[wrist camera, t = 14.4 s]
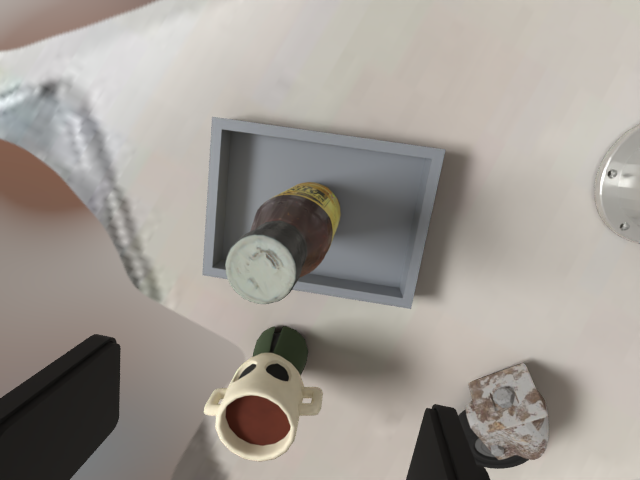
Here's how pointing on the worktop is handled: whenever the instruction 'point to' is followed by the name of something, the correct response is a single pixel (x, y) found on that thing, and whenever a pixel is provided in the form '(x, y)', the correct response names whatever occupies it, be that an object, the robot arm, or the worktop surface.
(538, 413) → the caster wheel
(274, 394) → the character mug
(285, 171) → the tray
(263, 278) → the sauce bottle
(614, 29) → the worktop surface
